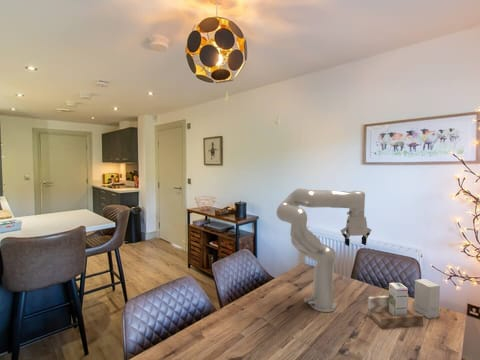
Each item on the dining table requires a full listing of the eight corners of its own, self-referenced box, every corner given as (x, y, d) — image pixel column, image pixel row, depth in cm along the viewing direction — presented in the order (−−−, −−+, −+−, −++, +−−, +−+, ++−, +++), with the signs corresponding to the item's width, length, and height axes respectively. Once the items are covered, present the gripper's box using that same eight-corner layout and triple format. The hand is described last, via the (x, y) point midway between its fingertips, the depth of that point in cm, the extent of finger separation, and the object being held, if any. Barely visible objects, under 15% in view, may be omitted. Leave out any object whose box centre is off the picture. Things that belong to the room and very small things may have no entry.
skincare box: (439, 317, 125) (441, 285, 124) (427, 319, 123) (429, 287, 122) (423, 307, 133) (425, 277, 132) (412, 309, 132) (414, 279, 130)
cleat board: (382, 328, 116) (383, 309, 116) (367, 314, 127) (368, 296, 126) (422, 325, 119) (424, 306, 118) (405, 311, 129) (406, 294, 129)
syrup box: (407, 318, 120) (408, 288, 119) (394, 318, 120) (396, 288, 119) (399, 311, 126) (401, 282, 125) (387, 311, 126) (388, 282, 125)
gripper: (345, 215, 137) (344, 247, 139) (375, 214, 140) (374, 246, 141) (338, 213, 145) (337, 243, 146) (367, 212, 147) (366, 242, 148)
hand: (355, 244), depth 143 cm, fingers open, 9 cm apart
